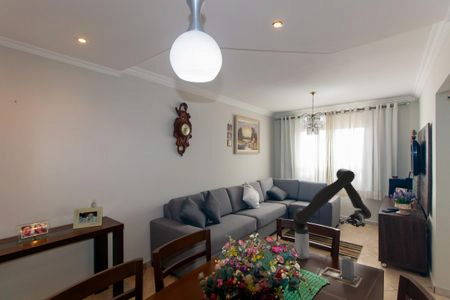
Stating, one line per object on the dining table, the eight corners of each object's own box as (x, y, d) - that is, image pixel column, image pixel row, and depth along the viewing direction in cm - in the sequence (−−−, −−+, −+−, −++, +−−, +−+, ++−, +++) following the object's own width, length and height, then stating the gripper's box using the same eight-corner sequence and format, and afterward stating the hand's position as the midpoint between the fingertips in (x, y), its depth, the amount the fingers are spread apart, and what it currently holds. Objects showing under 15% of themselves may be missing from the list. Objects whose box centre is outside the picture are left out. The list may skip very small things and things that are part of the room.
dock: (318, 276, 137) (318, 272, 137) (326, 268, 146) (326, 265, 146) (356, 288, 124) (356, 285, 124) (362, 279, 132) (362, 276, 132)
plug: (341, 278, 132) (341, 257, 132) (344, 275, 135) (343, 254, 136) (351, 281, 128) (350, 259, 129) (354, 278, 132) (353, 256, 132)
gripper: (344, 211, 160) (336, 216, 149) (368, 214, 151) (361, 220, 139) (344, 222, 160) (336, 228, 148) (368, 226, 150) (362, 233, 139)
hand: (348, 224), depth 144 cm, fingers open, 8 cm apart
